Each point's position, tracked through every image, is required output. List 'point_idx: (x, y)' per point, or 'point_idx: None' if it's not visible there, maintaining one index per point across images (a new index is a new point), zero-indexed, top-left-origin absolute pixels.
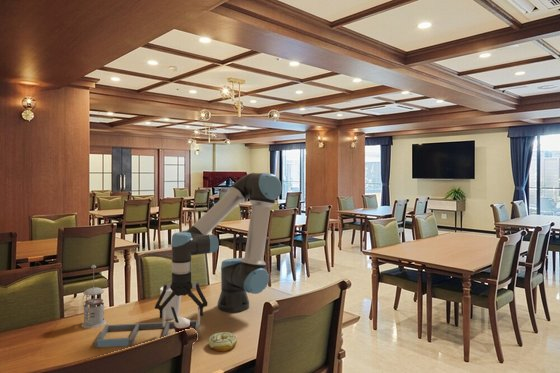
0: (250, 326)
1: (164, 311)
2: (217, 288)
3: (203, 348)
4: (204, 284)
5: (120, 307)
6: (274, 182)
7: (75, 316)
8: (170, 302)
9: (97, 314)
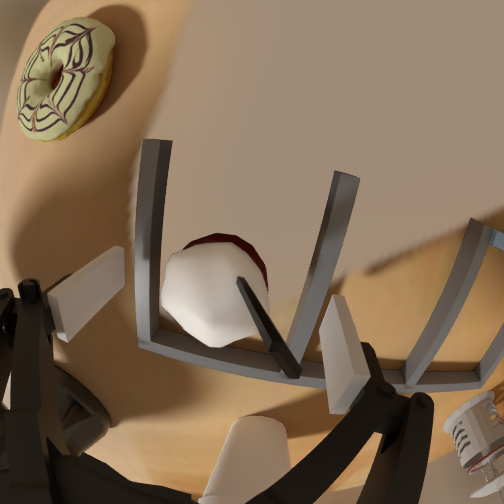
0: (4, 240)
1: (351, 368)
2: (137, 478)
3: (146, 55)
4: None
5: None
6: None
7: None
8: (258, 473)
9: (485, 425)
